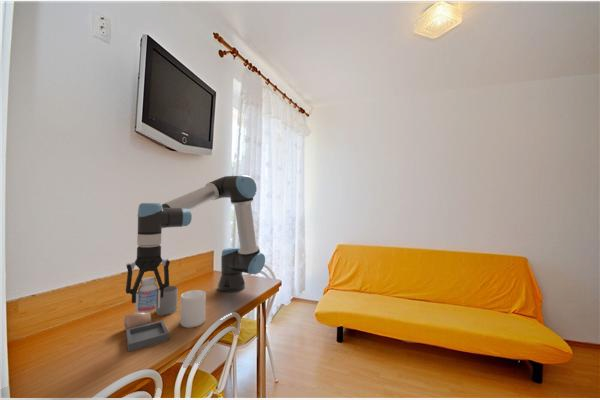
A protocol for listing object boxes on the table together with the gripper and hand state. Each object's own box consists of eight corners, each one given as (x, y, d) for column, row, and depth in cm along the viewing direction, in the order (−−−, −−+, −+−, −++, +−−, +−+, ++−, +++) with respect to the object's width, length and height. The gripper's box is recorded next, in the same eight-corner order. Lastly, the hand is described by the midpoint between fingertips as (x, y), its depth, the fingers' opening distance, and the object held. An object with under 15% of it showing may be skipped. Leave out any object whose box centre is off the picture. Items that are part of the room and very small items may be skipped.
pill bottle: (136, 314, 88) (136, 282, 88) (139, 307, 93) (140, 277, 93) (156, 311, 90) (156, 280, 90) (158, 305, 96) (158, 275, 96)
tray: (162, 326, 100) (162, 320, 100) (168, 340, 91) (168, 333, 91) (126, 336, 93) (126, 329, 93) (128, 351, 83) (128, 344, 83)
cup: (168, 316, 110) (168, 292, 110) (151, 314, 111) (152, 291, 111) (180, 308, 118) (181, 286, 118) (165, 306, 119) (166, 285, 120)
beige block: (143, 322, 104) (143, 307, 104) (150, 326, 101) (151, 311, 101) (123, 329, 98) (124, 313, 98) (131, 333, 95) (131, 317, 95)
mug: (190, 330, 98) (191, 300, 98) (171, 322, 104) (171, 294, 104) (210, 320, 106) (210, 292, 106) (191, 314, 112) (191, 287, 112)
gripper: (175, 241, 101) (174, 300, 101) (116, 246, 89) (114, 312, 89) (180, 244, 95) (178, 306, 95) (117, 249, 83) (115, 320, 83)
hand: (147, 309), depth 92 cm, fingers closed on pill bottle, 6 cm apart
